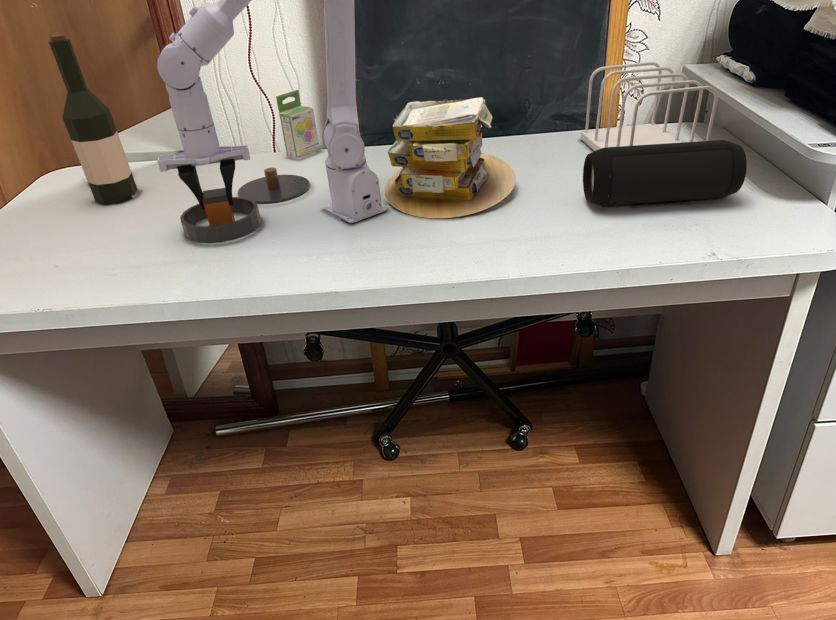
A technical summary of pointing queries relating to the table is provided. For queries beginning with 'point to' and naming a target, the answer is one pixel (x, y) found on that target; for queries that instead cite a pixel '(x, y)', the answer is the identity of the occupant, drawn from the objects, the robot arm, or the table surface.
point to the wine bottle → (92, 132)
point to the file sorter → (643, 132)
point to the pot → (226, 230)
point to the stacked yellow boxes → (445, 161)
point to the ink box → (297, 126)
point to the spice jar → (217, 207)
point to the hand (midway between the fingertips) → (217, 205)
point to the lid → (274, 187)
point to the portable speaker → (663, 173)
